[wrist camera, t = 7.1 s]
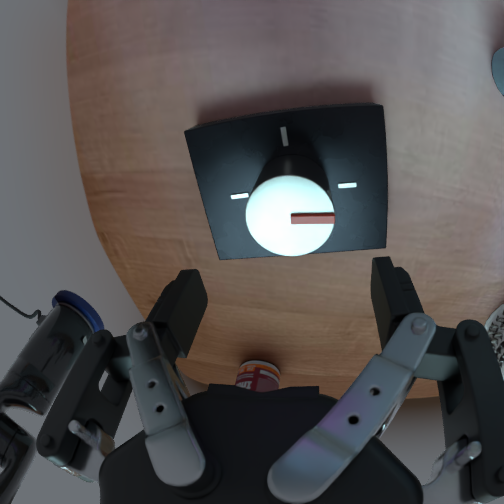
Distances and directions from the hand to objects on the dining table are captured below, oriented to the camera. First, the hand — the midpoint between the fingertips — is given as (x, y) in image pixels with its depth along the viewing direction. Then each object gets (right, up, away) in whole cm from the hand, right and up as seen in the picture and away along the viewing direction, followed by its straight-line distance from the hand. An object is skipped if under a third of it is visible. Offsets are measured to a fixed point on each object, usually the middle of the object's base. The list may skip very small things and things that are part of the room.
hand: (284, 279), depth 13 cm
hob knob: (+2, +6, +9) cm, 11 cm away
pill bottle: (0, -16, +28) cm, 32 cm away
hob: (+2, +8, +11) cm, 14 cm away
